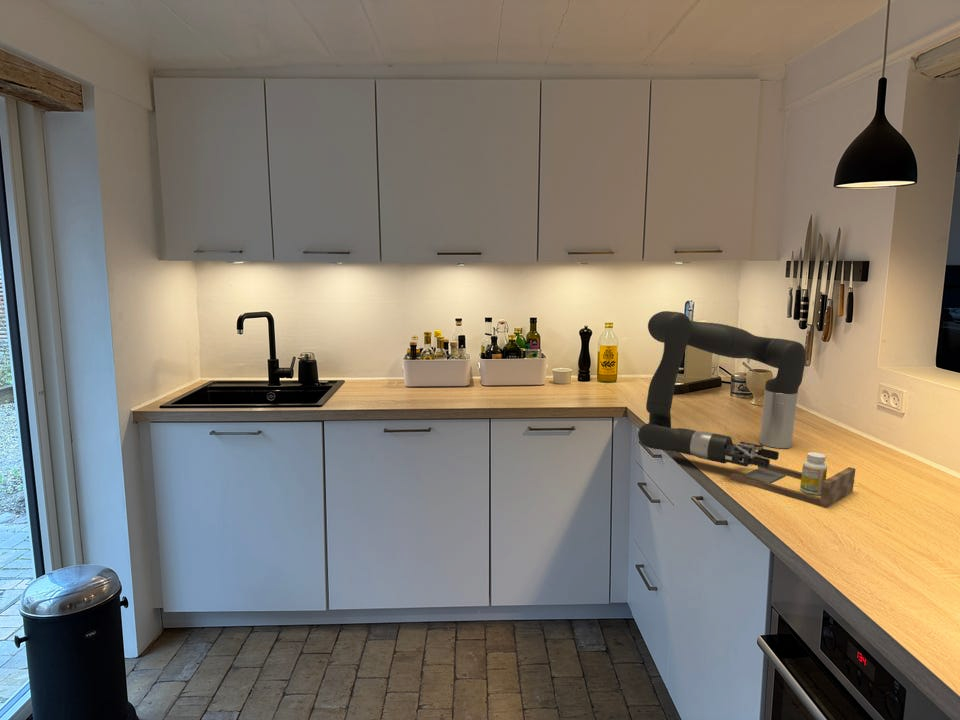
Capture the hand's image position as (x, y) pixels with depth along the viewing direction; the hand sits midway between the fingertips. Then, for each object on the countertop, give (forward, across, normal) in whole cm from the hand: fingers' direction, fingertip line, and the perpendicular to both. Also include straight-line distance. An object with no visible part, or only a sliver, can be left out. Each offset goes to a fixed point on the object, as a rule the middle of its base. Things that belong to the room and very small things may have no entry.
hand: (773, 459), depth 160 cm
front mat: (-3, +2, +6) cm, 7 cm away
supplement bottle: (+10, 0, +6) cm, 11 cm away
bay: (+4, +1, +6) cm, 7 cm away
